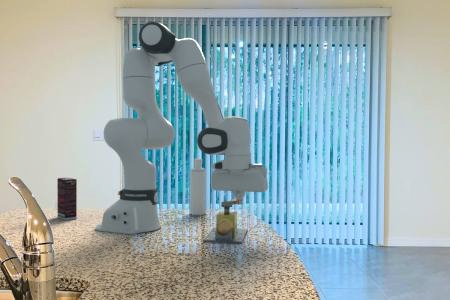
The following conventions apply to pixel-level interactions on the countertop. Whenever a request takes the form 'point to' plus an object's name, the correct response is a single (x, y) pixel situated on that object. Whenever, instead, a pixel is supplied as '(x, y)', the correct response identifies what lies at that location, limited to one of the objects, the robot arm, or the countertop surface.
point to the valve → (226, 229)
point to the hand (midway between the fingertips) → (239, 204)
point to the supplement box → (67, 198)
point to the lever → (228, 203)
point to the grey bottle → (198, 189)
